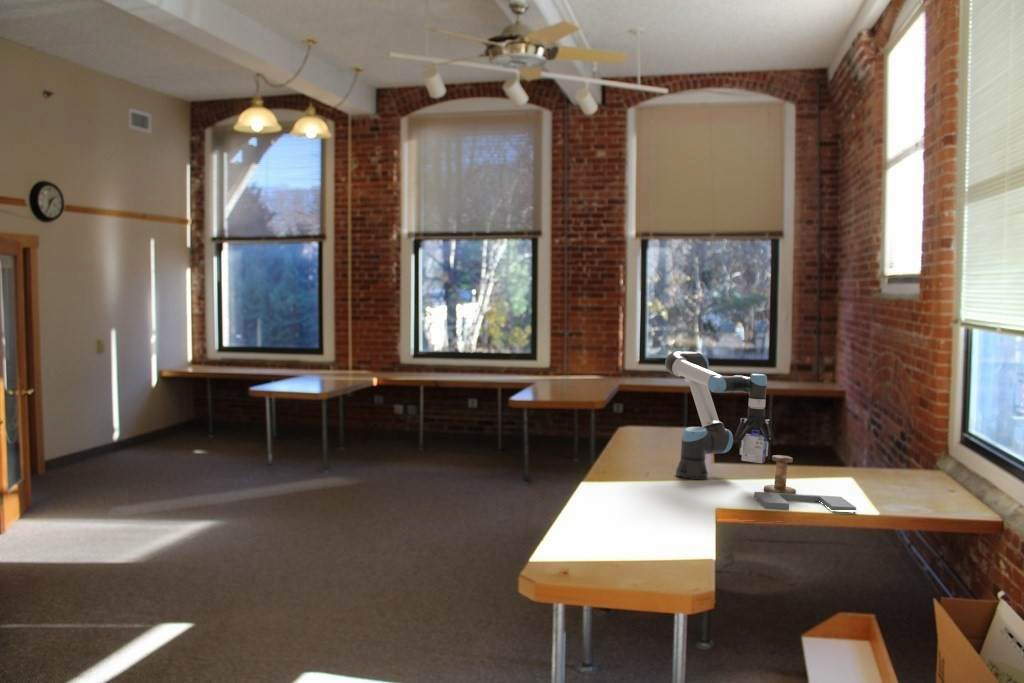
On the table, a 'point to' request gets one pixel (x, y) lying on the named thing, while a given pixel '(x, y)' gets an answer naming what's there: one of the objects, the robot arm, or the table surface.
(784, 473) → the bobbin
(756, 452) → the ink cartridge box
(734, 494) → the table surface
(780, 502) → the notched board
